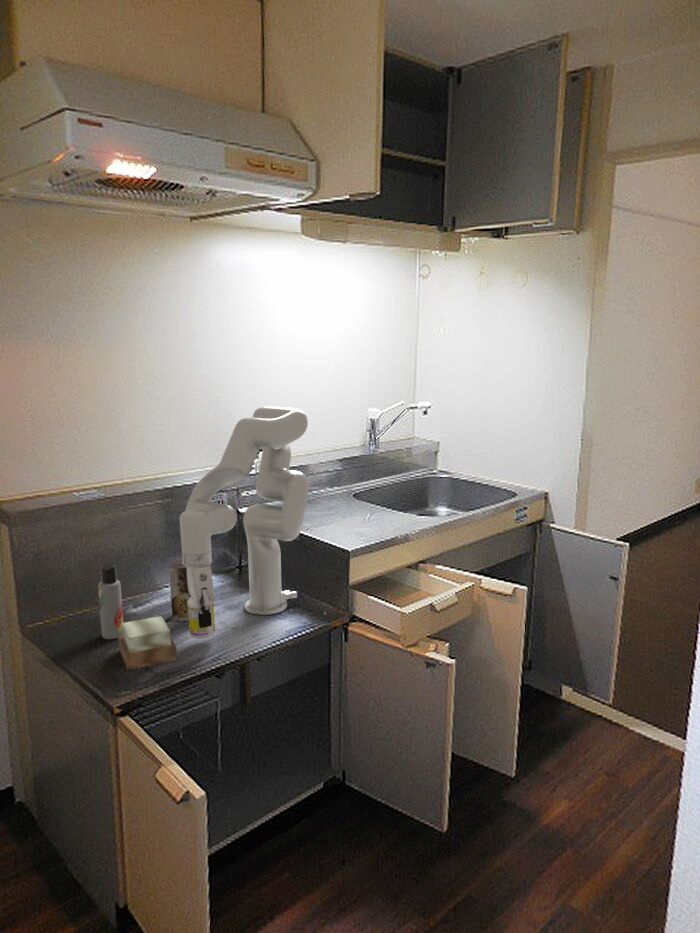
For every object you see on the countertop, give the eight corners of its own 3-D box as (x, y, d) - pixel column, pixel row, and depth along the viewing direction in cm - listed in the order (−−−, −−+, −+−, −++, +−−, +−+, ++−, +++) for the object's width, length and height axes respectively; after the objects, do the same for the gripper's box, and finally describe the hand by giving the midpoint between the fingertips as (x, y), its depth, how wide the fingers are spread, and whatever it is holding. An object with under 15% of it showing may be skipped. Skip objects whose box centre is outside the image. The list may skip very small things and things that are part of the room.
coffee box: (209, 613, 213) (206, 560, 209) (202, 622, 206) (199, 568, 203) (178, 612, 213) (176, 559, 210) (171, 620, 207) (168, 567, 204)
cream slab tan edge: (166, 642, 193) (164, 614, 192) (176, 660, 183) (174, 630, 181) (119, 651, 188) (117, 622, 186) (127, 670, 177) (125, 640, 176)
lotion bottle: (128, 632, 200) (123, 562, 196) (116, 640, 194) (111, 569, 190) (110, 630, 201) (104, 561, 197) (97, 638, 196) (92, 567, 192)
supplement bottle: (204, 626, 197) (201, 581, 194) (220, 632, 193) (217, 587, 190) (184, 635, 192) (181, 589, 189) (200, 641, 188) (197, 595, 185)
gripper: (220, 565, 182) (225, 631, 186) (202, 545, 197) (206, 606, 201) (191, 570, 179) (196, 637, 183) (175, 549, 194) (179, 612, 198)
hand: (201, 620), depth 192 cm, fingers closed on supplement bottle, 6 cm apart
